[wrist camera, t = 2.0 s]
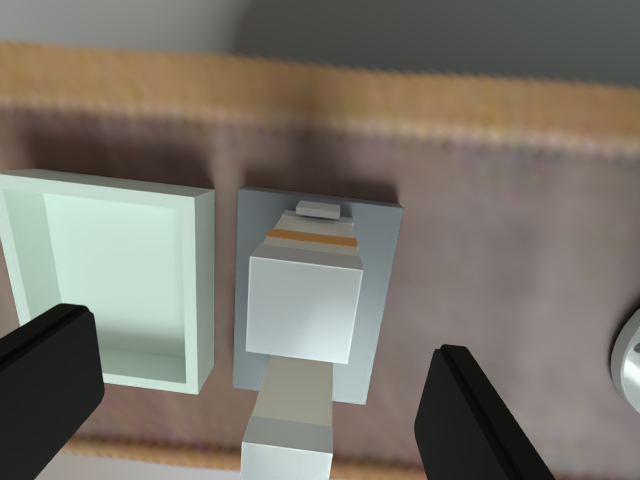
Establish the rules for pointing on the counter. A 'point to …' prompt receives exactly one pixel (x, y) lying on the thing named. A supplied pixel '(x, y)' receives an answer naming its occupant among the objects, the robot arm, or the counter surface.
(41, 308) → the tray
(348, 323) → the block
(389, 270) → the block
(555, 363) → the counter surface
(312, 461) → the block
